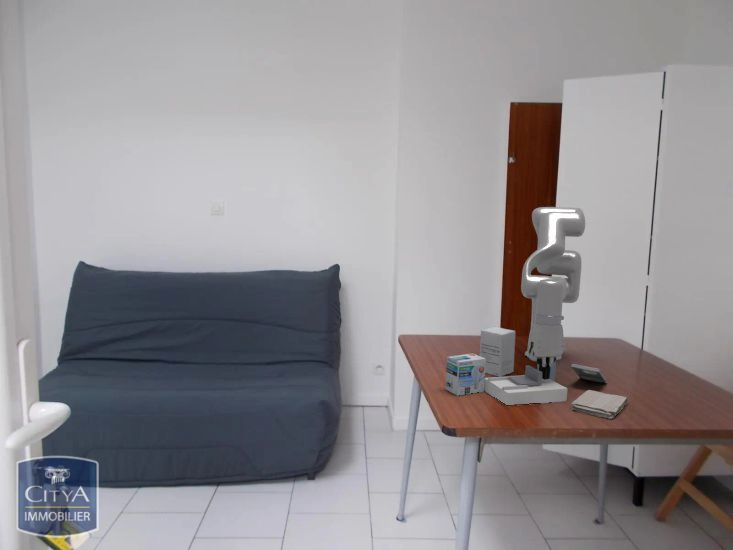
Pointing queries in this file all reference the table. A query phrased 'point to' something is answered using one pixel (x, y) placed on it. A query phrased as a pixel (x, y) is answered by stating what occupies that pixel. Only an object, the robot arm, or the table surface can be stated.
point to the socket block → (524, 391)
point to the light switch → (589, 373)
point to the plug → (551, 371)
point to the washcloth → (599, 404)
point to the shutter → (528, 377)
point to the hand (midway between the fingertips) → (544, 378)
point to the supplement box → (498, 350)
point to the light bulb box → (465, 374)
